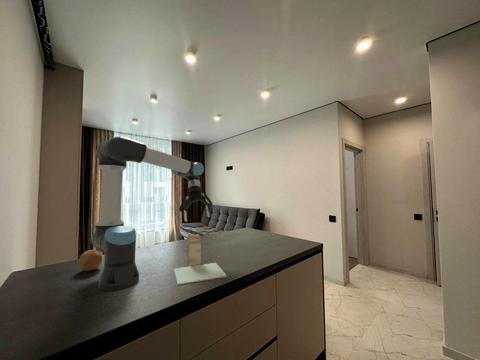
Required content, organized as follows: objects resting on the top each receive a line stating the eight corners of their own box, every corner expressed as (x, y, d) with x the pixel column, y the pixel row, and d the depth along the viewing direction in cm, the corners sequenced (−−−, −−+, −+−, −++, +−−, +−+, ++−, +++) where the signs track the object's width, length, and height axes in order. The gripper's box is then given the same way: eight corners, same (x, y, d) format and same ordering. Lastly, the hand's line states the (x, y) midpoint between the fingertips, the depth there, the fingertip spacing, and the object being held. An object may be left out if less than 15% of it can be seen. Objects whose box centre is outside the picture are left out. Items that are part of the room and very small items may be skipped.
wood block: (187, 262, 112) (187, 235, 113) (198, 261, 114) (198, 234, 115) (189, 266, 107) (189, 237, 107) (200, 265, 109) (200, 236, 110)
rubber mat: (173, 269, 102) (173, 268, 102) (215, 263, 111) (215, 262, 111) (177, 285, 86) (177, 283, 86) (226, 276, 94) (226, 275, 94)
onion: (103, 265, 108) (104, 246, 108) (99, 272, 99) (99, 251, 99) (81, 268, 104) (82, 248, 105) (74, 275, 95) (75, 253, 95)
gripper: (214, 187, 135) (218, 216, 123) (177, 194, 134) (178, 225, 123) (212, 181, 128) (216, 211, 117) (173, 189, 128) (173, 220, 116)
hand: (197, 218), depth 120 cm, fingers open, 13 cm apart
